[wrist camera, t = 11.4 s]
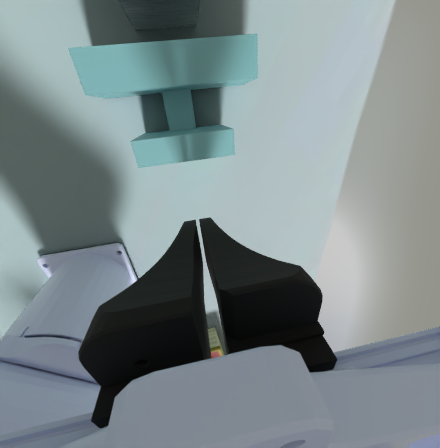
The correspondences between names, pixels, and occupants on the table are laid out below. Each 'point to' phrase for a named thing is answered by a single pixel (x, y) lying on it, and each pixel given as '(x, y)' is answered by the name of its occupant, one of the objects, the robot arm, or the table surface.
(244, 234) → the table surface
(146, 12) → the steel block
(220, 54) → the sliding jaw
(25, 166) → the table surface
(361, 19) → the table surface
